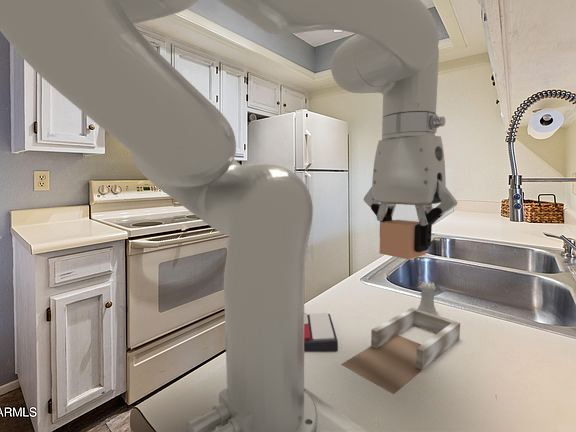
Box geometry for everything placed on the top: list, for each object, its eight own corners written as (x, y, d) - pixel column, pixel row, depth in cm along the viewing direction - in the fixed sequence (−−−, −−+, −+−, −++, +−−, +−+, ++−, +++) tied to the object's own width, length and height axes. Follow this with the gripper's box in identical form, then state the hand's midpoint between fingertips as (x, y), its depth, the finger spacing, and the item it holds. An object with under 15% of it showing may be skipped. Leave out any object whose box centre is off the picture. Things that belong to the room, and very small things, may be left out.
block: (408, 259, 46) (410, 225, 45) (379, 253, 50) (380, 222, 49) (425, 254, 49) (427, 222, 48) (397, 249, 53) (398, 219, 52)
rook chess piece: (441, 323, 66) (443, 286, 65) (420, 323, 66) (421, 286, 65) (432, 314, 70) (434, 279, 69) (412, 314, 70) (413, 279, 69)
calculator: (255, 313, 63) (329, 309, 63) (256, 333, 64) (330, 329, 64) (247, 341, 52) (337, 336, 52) (249, 365, 53) (338, 361, 53)
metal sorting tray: (393, 404, 42) (394, 372, 42) (340, 373, 49) (341, 345, 48) (458, 346, 56) (460, 322, 56) (411, 329, 63) (412, 307, 63)
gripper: (479, 124, 43) (471, 253, 45) (373, 137, 56) (371, 237, 58) (458, 117, 38) (450, 262, 41) (347, 133, 51) (345, 243, 53)
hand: (403, 246), depth 49 cm, fingers closed on block, 5 cm apart
